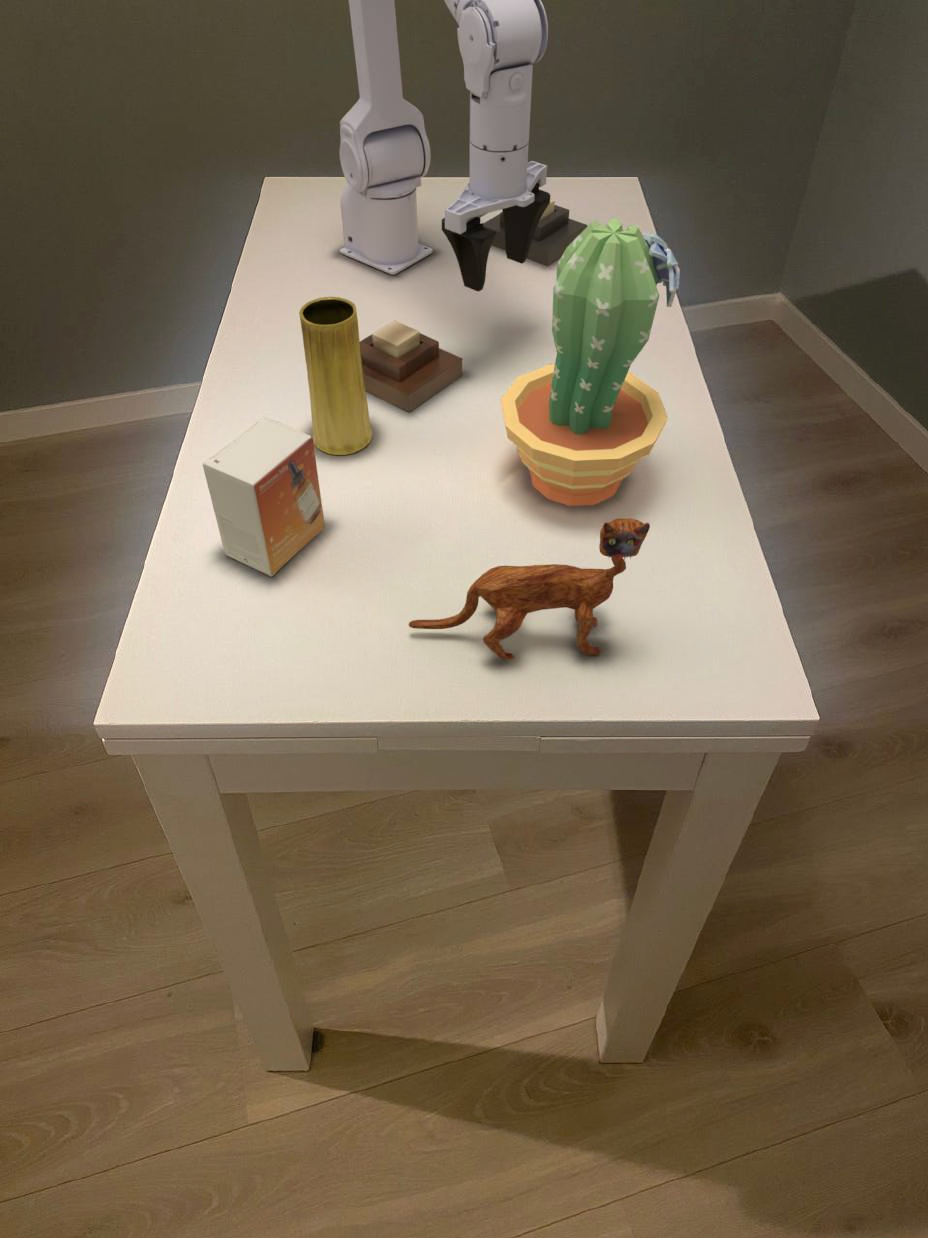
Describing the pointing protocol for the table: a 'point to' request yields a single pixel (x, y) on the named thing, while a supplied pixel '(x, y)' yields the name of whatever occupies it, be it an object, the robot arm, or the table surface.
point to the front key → (396, 339)
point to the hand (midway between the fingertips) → (495, 273)
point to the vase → (335, 376)
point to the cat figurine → (549, 589)
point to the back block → (543, 235)
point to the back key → (549, 209)
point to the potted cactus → (594, 368)
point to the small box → (266, 495)
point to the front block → (408, 372)
